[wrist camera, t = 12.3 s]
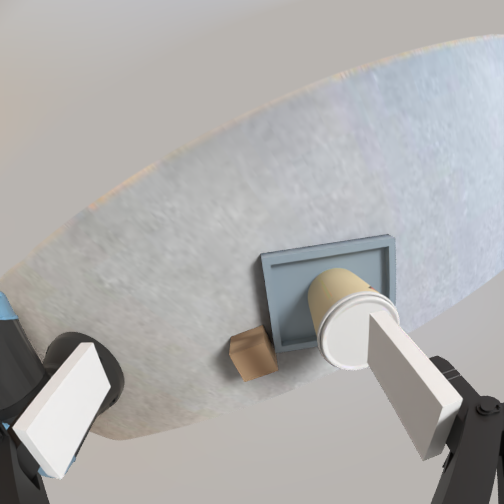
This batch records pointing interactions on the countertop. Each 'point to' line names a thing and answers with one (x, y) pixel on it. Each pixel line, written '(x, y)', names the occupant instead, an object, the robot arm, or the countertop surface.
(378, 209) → the countertop surface
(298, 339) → the collection tray
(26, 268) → the countertop surface
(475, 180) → the countertop surface
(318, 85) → the countertop surface
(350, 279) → the coffee cup
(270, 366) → the walnut block
